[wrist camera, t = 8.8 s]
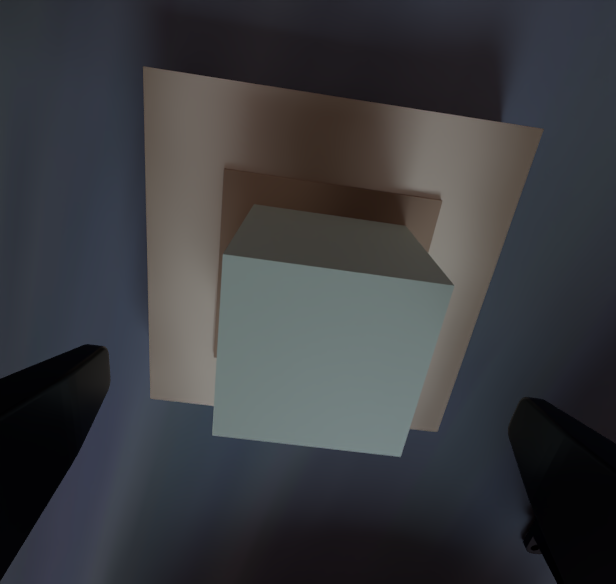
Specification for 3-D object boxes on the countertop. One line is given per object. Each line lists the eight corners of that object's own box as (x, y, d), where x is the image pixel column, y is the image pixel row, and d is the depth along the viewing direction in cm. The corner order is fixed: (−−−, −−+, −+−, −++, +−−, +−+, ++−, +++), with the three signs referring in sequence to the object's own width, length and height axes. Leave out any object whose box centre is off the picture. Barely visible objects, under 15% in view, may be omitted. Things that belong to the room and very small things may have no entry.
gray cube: (405, 225, 13) (454, 285, 9) (374, 353, 15) (400, 456, 11) (254, 204, 13) (222, 254, 9) (242, 337, 15) (212, 435, 11)
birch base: (501, 125, 15) (547, 129, 12) (420, 387, 20) (438, 435, 17) (174, 74, 14) (140, 65, 12) (173, 357, 19) (148, 401, 16)
